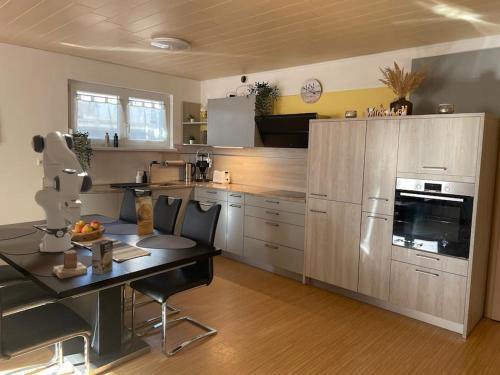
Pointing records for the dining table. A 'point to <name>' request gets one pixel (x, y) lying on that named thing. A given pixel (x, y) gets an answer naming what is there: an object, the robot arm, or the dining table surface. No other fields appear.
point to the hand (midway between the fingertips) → (69, 227)
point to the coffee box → (102, 256)
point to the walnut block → (70, 259)
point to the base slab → (69, 270)
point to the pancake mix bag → (144, 215)
